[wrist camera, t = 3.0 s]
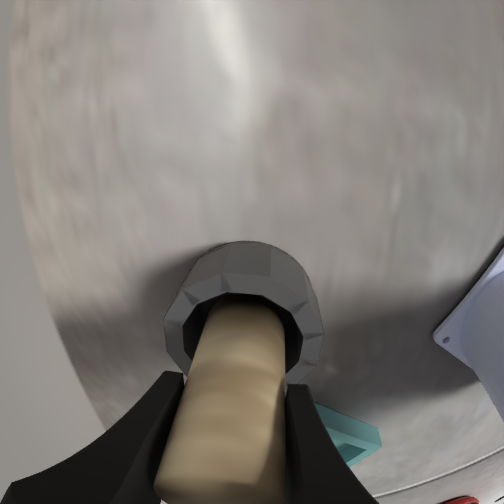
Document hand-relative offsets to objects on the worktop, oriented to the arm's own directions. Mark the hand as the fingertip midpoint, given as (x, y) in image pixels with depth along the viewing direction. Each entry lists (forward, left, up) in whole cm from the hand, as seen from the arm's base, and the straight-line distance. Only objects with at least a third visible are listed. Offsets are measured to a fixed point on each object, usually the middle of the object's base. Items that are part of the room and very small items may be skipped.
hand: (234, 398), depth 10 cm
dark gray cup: (0, 0, -7) cm, 7 cm away
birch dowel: (0, 0, -4) cm, 4 cm away
